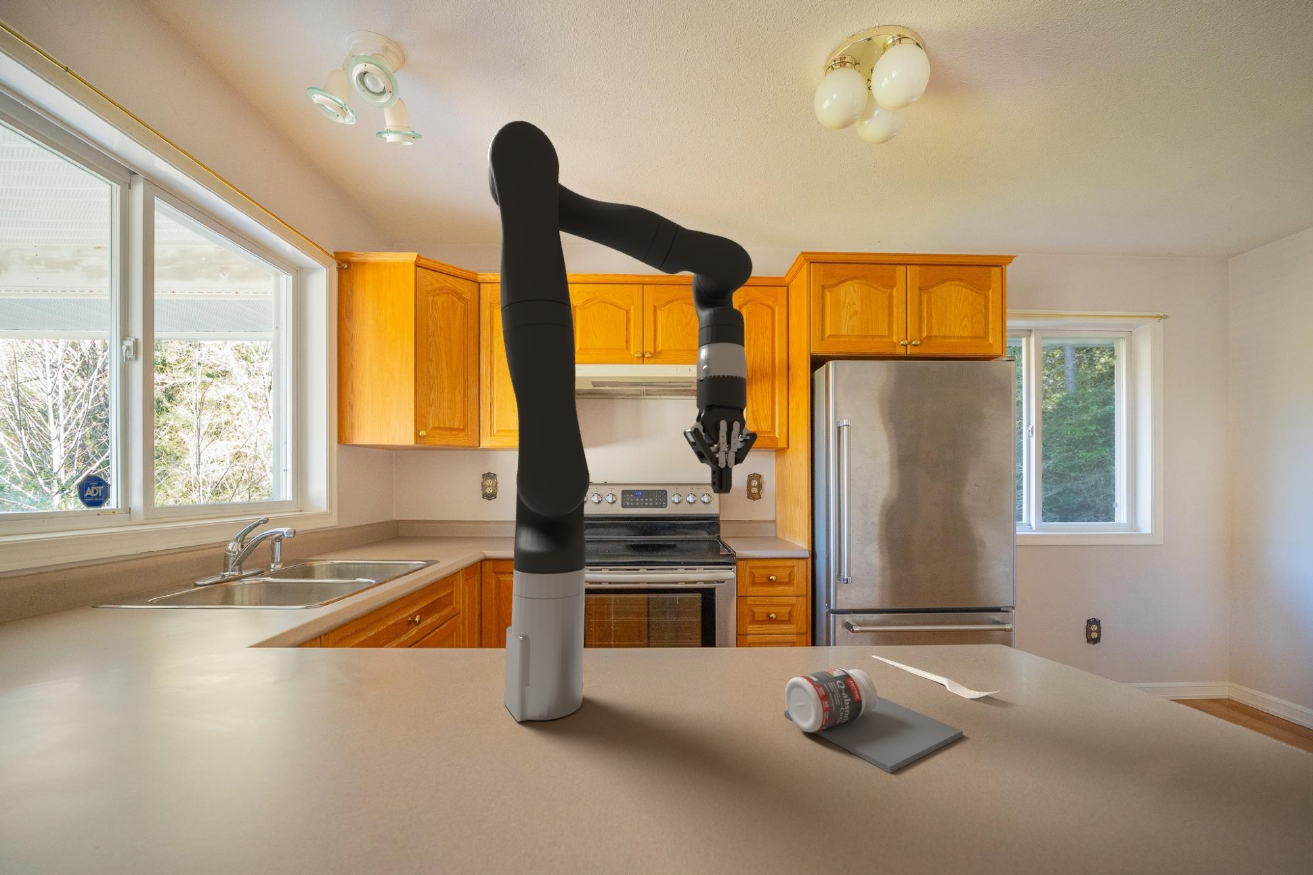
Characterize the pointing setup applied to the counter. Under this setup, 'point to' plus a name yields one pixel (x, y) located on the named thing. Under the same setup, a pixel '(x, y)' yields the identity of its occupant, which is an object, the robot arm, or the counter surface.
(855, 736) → the mat
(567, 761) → the counter surface
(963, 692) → the fork
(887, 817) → the counter surface
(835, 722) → the pill bottle
